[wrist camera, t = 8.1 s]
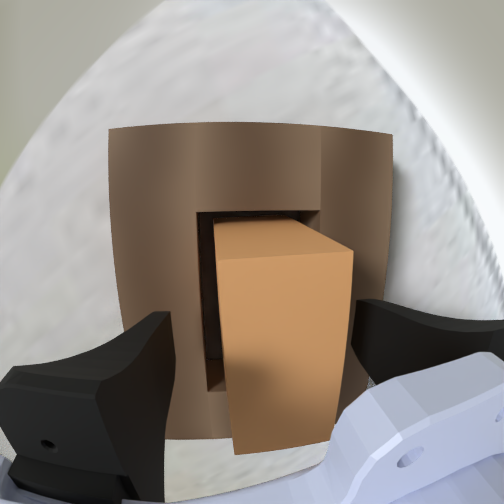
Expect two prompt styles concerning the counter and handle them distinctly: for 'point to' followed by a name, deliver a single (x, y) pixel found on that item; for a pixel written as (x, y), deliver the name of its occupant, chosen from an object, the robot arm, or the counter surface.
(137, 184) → the keyed socket
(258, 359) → the keyed peg
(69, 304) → the counter surface
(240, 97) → the counter surface
